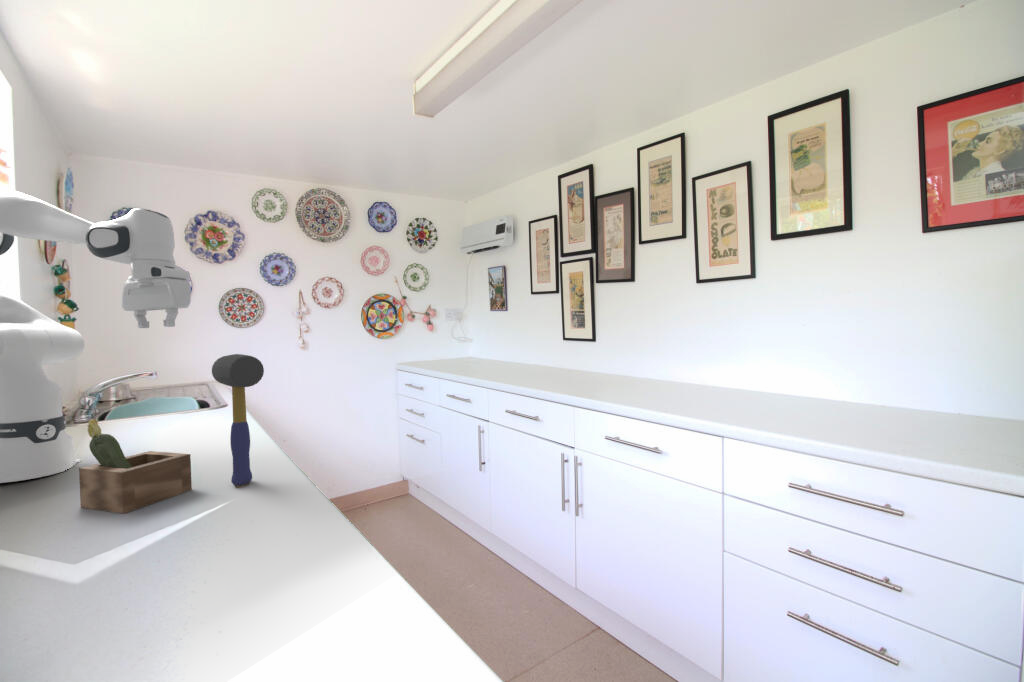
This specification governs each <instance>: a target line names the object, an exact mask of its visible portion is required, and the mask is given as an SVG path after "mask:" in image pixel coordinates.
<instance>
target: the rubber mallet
mask: <svg viewBox="0 0 1024 682" xmlns="http://www.w3.org/2000/svg"><path fill="white" fill-rule="evenodd" d="M264 373H265V368H264V364H263V363H262V361H261V360H260V359H258V358H257V357H255V356H253V355H247V354H242V353H241V354H240V353H234V354H229V355H224V356H221V357H219V358H217V359H216V360H215V361H214V362H213V365H212V367H211V374H212V377H213V379H214V380H215V381H216V382H217V383H219V384H222V385H225V386H228V387H231V391H232V393H231V396H232V397H231V398H232V422H231V423H232V424H231V427H230V451H231V455H232V456H231V457H232V474H231V483H232V485H233V486H234V487H235V488H242V487H243V488H244V487H247V486H248V485H250V483H252V480H253V473H252V471H251V463H250V459H251V458H250V449H251V433H250V426H249V423H248V421H247V405H246V402H247V401H246V388H248V387H249V388H250V387H252V386H255V385H257V384H259V382H260V381H261V380H262V378H263V377H264Z"/></svg>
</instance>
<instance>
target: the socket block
mask: <svg viewBox="0 0 1024 682" xmlns="http://www.w3.org/2000/svg"><path fill="white" fill-rule="evenodd" d="M125 458H126V460H127V461H128V462H129V464H130V465H131V466H132V468H128V469H124V468H114V467H104V466H102V465H101V464H100V463H99V462H98V463H95V464H91V465H87V466H83V467H79V468H78V474H79V475H78V476H79V496H80V497H79V499H80V508H83V509H89V510H95V511H105V512H111V513H117V514H126V513H130V512H132V511H134V510H138V509H141V508H144V507H146V506H149V505H153V504H155V503H158V502H161V501H164V500H167V499H169V498H173V497H175V496H178V495H181V494H184V493H187V492H190V491H192V490H193V487H192V466H191V465H192V464H191V463H192V462H191V460H192V459H191V454H190V453H181V452H180V453H178V452H170V451H169V452H168V451H167V452H166V451H153V450H150V451H149V450H148V451H144V452H141V453H137V454H132V455H128V456H125Z"/></svg>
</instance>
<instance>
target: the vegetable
mask: <svg viewBox="0 0 1024 682" xmlns="http://www.w3.org/2000/svg"><path fill="white" fill-rule="evenodd" d="M87 433H88V435H89V437H90V438H91V439H90V442H89V449H90V453H91V454H92V456H93V457H94V458H95V459H96V461H98V463H100V464H101V465H102V466H104V467H114V468H124V469H128V468H132V466H131V465H130V464H129V462H128V461H127V460H126V458H125V457H126V456H125V454H124V452H123V449H122V448H121V447H122V446H121V445H120V442H119V441H118V440H117V438H116V437H114V435H112V434H110V433H109V434H108V433H102V428H101V427H100V425H99V422H98V420H96V419H93V418H92V419H90V420H88V425H87Z"/></svg>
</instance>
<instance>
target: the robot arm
mask: <svg viewBox="0 0 1024 682" xmlns="http://www.w3.org/2000/svg"><path fill="white" fill-rule="evenodd" d="M15 237H17V238H23V239H29V240H36V241H37V240H38V241H47V242H57V243H66V244H73V245H75V244H76V245H80V246H86V248H87V249H88V250H89V252H90V253H91V254H92V255H93V256H94V257H98V258H101V259H103V260H105V261H106V260H107V261H110V262H116V263H120V264H125V265H130V272H131V273H130V276H129V277H128V279H127V280H126V281H125V283H124V284H123V286H122V293H121V294H122V295H121V307H122V309H123V310H124V311H125V312H133V316H134V318H135V319H136V321H137V328H138V329H149V328H150V321H148V320H147V317H146V316H147V312H149V311H162V310H164V311H165V313H166V317H165V319H163V327H165V328H166V327H167V328H172V327H176V318H177V317H178V314H179V309H188V308H189V307H190V304H191V299H192V298H191V284H190V282H189V280H190V279H191V273H190V272H189V270H188V271H187V270H185V269H182V268H179V267H177V266H176V259H175V257H174V251H175V246H176V245H175V232H174V228H173V224H172V221H171V218H169V217H168V216H167V215H166V214H163V213H161V212H159V211H155V210H151V209H146V208H133V209H130V211H129V212H128V213H127V214H125V215H123V216H120V217H118V218H116V219H112V220H108V221H99V222H96V223H94V222H92V221H88V220H87V219H84V218H81V217H79V216H77V215H74V214H72V213H71V212H68V211H66V210H63V209H61V208H59V207H57V206H55V205H52V204H50V203H48V202H46V201H43V200H41V199H39V198H36V197H34V196H32V195H28V194H25V193H23V192H20V191H17V190H13V189H8V188H3V187H0V256H2V255H4V254H5V253H6V252H8V251H9V250H10V248H11V247H12V246H13V244H14V242H15ZM84 348H85V339H84V337H83V335H82V333H80V331H78V330H76V329H74V328H72V327H68V326H66V325H64V324H62V323H60V322H57V321H56V320H54V319H52V318H51V317H49V316H46V315H45V314H44V313H42V312H40V311H38V310H37V309H36V308H33V307H32V306H30V305H28V304H27V303H26V302H24V301H23V300H22V299H20V298H19V297H17V296H16V295H15V293H13V292H12V291H11V290H10V289H9V288H8V287H7V286H5V285H4V283H3V282H2V281H0V484H3V483H4V484H5V483H12V482H13V483H14V482H19V481H26V480H31V479H37V478H42V477H47V476H52V475H56V474H59V473H63V472H66V471H68V470H67V469H69V468H71V467H72V466H73V465H74V464H75V463H77V462H79V463H81V462H80V461H82V460H81V459H80V458H78V459H76V456H75V455H76V454H75V449H74V441H73V437H72V434H69V433H68V432H66V431H65V429H66V428H67V427H66V426H67V421H66V416H65V415H63V398H62V395H63V394H62V389H61V387H60V385H59V384H58V383H56V382H54V381H52V380H51V379H49V378H48V376H47V375H46V373H45V371H44V369H43V366H45V365H57V364H61V363H64V362H65V363H66V362H68V361H72V360H75V359H77V357H79V356H80V355H81V354H82V353H83V351H84ZM77 464H78V463H77ZM75 465H76V464H75ZM75 465H74V466H75ZM71 469H72V468H71ZM65 470H66V471H65ZM69 470H70V469H69Z"/></svg>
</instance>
